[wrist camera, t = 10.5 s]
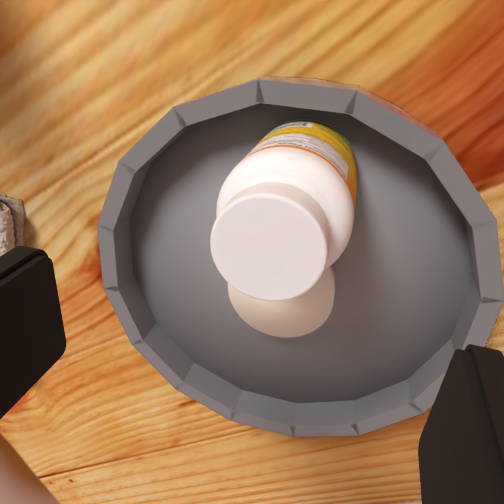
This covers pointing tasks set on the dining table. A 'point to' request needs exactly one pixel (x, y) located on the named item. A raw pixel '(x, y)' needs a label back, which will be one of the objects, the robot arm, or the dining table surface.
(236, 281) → the supplement bottle
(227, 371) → the ring tray
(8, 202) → the washcloth
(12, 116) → the dining table surface
